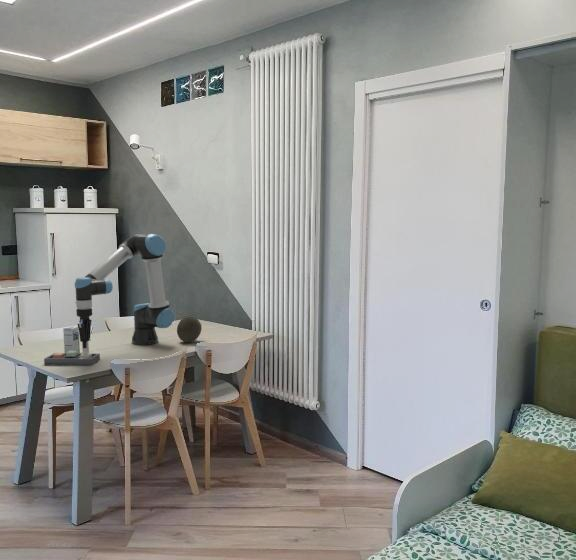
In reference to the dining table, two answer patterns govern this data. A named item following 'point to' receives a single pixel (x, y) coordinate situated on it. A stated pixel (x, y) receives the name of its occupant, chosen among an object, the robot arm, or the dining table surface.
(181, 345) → the dining table surface
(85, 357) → the ivory key
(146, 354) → the dining table surface
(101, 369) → the dining table surface
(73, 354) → the sage key
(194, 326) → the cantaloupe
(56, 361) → the base
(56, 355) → the terracotta key
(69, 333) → the syrup box
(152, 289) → the robot arm
